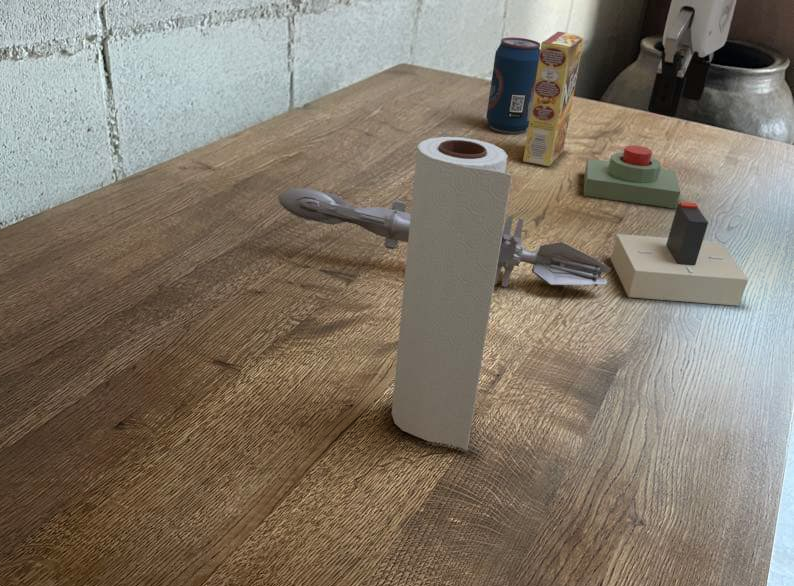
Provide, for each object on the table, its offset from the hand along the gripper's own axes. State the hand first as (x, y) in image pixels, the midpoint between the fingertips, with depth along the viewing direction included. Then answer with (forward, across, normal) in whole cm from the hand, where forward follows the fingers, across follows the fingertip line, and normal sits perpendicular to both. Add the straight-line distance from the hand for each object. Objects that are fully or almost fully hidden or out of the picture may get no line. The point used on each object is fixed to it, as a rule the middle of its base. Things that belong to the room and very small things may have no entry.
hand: (674, 105), depth 105 cm
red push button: (+10, +10, +6) cm, 16 cm away
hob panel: (+14, -15, -8) cm, 22 cm away
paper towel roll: (+14, -58, -1) cm, 59 cm away
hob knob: (+11, -15, -8) cm, 20 cm away
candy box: (+14, +16, +20) cm, 29 cm away
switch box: (+14, +10, +6) cm, 18 cm away
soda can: (+14, +25, +30) cm, 42 cm away
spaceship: (+14, -31, +12) cm, 36 cm away
